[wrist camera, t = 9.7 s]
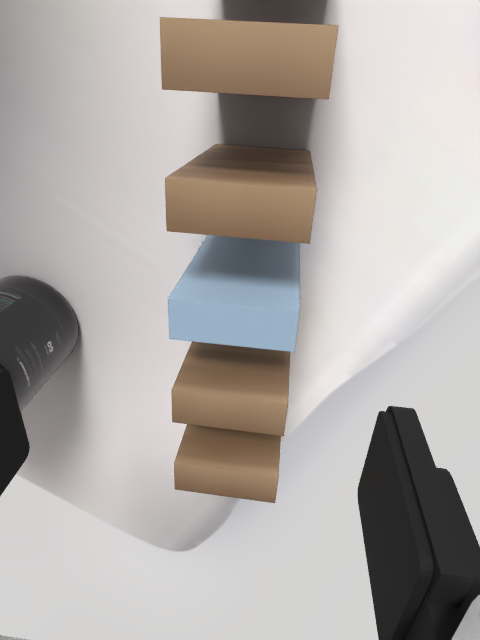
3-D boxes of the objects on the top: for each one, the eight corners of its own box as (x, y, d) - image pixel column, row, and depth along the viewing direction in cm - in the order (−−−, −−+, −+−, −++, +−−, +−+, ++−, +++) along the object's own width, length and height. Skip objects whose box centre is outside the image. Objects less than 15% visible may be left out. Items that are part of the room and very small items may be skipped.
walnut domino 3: (212, 293, 27) (171, 390, 18) (291, 301, 27) (287, 404, 18) (212, 318, 28) (172, 422, 19) (288, 326, 28) (283, 435, 19)
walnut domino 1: (218, 47, 21) (160, 17, 12) (321, 52, 20) (338, 25, 12) (217, 88, 22) (162, 89, 13) (316, 94, 21) (328, 99, 13)
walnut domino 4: (211, 351, 29) (174, 463, 21) (284, 359, 29) (278, 477, 20) (210, 373, 30) (174, 489, 21) (282, 381, 30) (274, 502, 21)
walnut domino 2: (216, 144, 23) (164, 178, 14) (310, 150, 23) (317, 189, 14) (215, 178, 24) (166, 231, 15) (305, 185, 23) (309, 243, 15)
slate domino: (213, 225, 25) (168, 298, 16) (299, 232, 25) (299, 311, 16) (213, 254, 26) (169, 338, 17) (296, 261, 26) (294, 351, 17)
